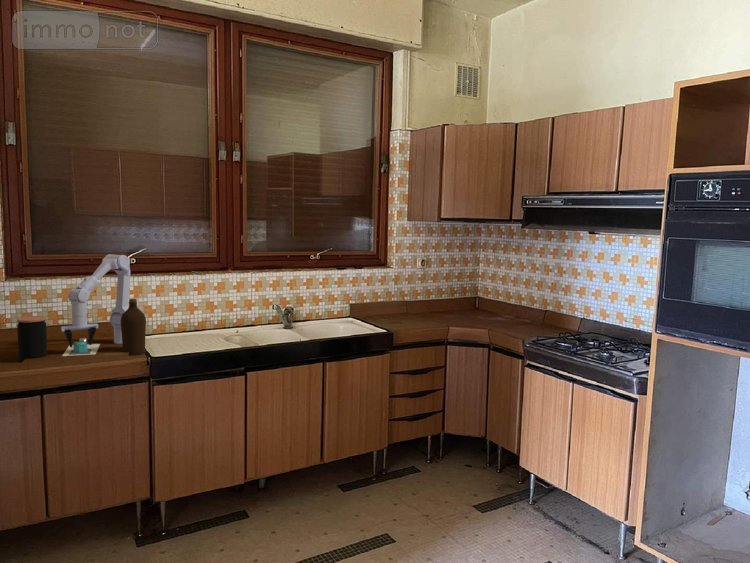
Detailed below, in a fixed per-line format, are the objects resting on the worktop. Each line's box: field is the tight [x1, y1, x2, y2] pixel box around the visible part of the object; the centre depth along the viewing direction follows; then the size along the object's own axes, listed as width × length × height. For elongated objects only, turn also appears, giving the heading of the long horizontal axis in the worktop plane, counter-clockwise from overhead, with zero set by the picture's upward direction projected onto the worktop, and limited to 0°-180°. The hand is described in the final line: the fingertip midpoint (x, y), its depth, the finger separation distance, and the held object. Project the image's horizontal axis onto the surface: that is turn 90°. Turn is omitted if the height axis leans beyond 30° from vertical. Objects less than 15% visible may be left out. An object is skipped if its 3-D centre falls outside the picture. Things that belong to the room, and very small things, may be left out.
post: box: [79, 337, 88, 343], centre depth 258 cm, size 3×3×4 cm
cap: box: [72, 340, 88, 353], centre depth 249 cm, size 5×5×4 cm
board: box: [62, 343, 101, 357], centre depth 254 cm, size 13×21×2 cm, turn 21°
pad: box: [69, 349, 92, 356], centre depth 249 cm, size 8×8×1 cm
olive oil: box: [121, 298, 147, 356], centre depth 255 cm, size 11×11×25 cm
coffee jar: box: [16, 315, 49, 363], centre depth 240 cm, size 11×11×18 cm
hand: (80, 345), depth 249 cm, fingers open, 7 cm apart
